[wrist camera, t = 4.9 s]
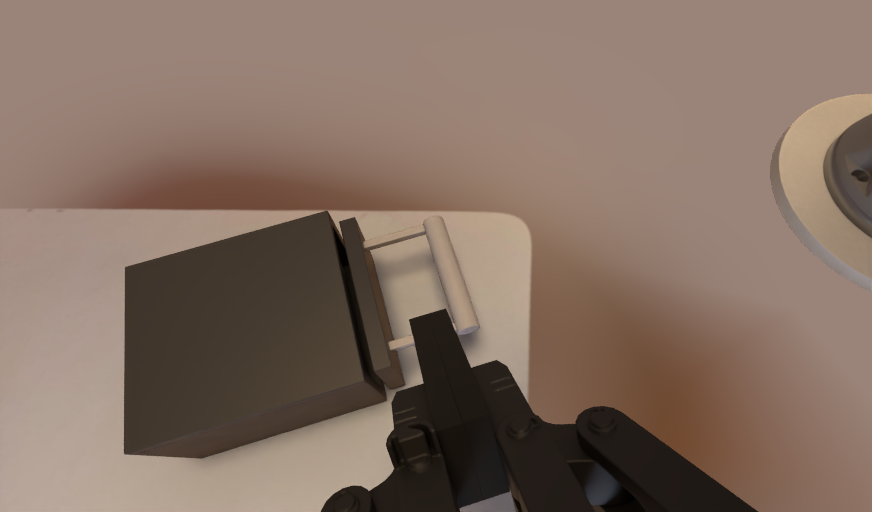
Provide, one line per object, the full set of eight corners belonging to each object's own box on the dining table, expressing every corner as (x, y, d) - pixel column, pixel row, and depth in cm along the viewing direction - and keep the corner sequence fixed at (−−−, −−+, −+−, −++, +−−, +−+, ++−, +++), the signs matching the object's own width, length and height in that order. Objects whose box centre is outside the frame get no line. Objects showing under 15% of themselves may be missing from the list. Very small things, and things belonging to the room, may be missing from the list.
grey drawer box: (354, 259, 41) (327, 210, 33) (387, 400, 36) (364, 380, 28) (191, 306, 40) (124, 266, 32) (200, 458, 35) (123, 454, 27)
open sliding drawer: (441, 236, 41) (436, 193, 34) (483, 360, 36) (486, 337, 30) (218, 300, 39) (172, 268, 33) (230, 438, 34) (179, 430, 28)
